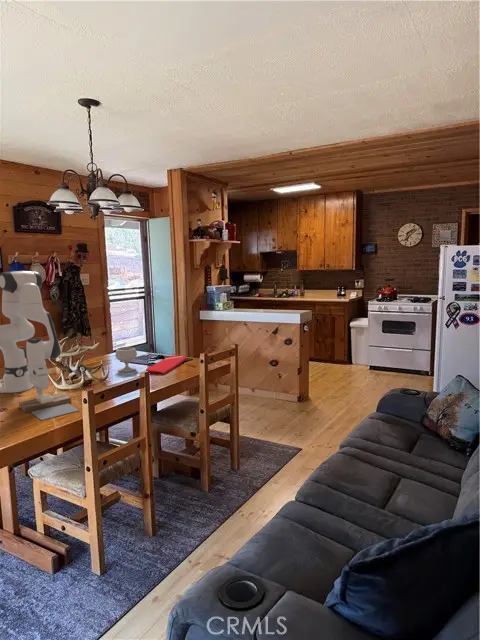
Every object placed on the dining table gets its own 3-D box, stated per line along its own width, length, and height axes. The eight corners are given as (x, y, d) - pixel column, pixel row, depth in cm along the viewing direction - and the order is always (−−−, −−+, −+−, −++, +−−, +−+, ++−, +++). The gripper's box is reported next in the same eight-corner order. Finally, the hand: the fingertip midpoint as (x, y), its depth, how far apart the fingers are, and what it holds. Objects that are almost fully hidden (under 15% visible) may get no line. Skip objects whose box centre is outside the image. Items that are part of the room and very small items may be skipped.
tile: (36, 399, 225) (35, 395, 224) (48, 397, 229) (47, 393, 228) (41, 403, 218) (41, 399, 218) (54, 400, 222) (53, 397, 222)
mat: (31, 412, 212) (31, 411, 212) (68, 403, 224) (67, 403, 224) (41, 420, 201) (41, 419, 201) (79, 410, 213) (79, 410, 213)
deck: (19, 407, 221) (18, 402, 220) (62, 397, 235) (62, 393, 235) (26, 413, 212) (25, 408, 212) (71, 402, 226) (70, 397, 226)
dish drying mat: (141, 374, 280) (141, 369, 280) (168, 360, 319) (167, 355, 319) (163, 376, 276) (163, 370, 275) (188, 361, 315) (187, 356, 315)
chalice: (141, 369, 291) (140, 348, 289) (123, 374, 281) (122, 351, 279) (130, 366, 301) (129, 345, 299) (112, 370, 291) (110, 348, 289)
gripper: (24, 366, 234) (27, 391, 236) (37, 373, 219) (39, 399, 221) (37, 364, 238) (39, 388, 240) (50, 370, 223) (52, 396, 225)
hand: (39, 394), depth 230 cm, fingers closed
